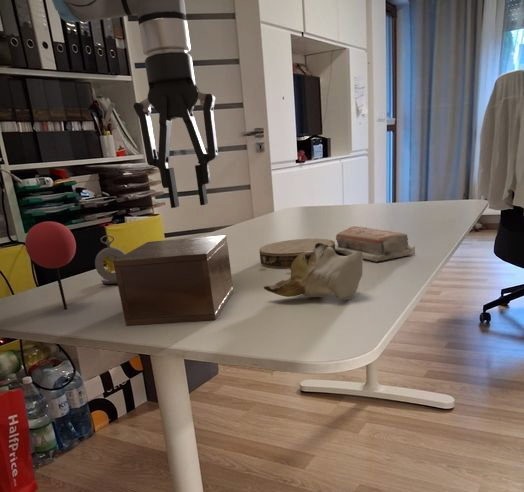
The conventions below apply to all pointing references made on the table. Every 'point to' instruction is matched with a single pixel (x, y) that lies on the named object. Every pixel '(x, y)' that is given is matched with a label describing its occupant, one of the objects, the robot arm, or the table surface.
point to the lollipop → (51, 247)
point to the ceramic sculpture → (322, 274)
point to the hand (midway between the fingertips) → (189, 205)
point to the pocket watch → (108, 255)
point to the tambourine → (288, 251)
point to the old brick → (373, 243)
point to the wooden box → (175, 280)
